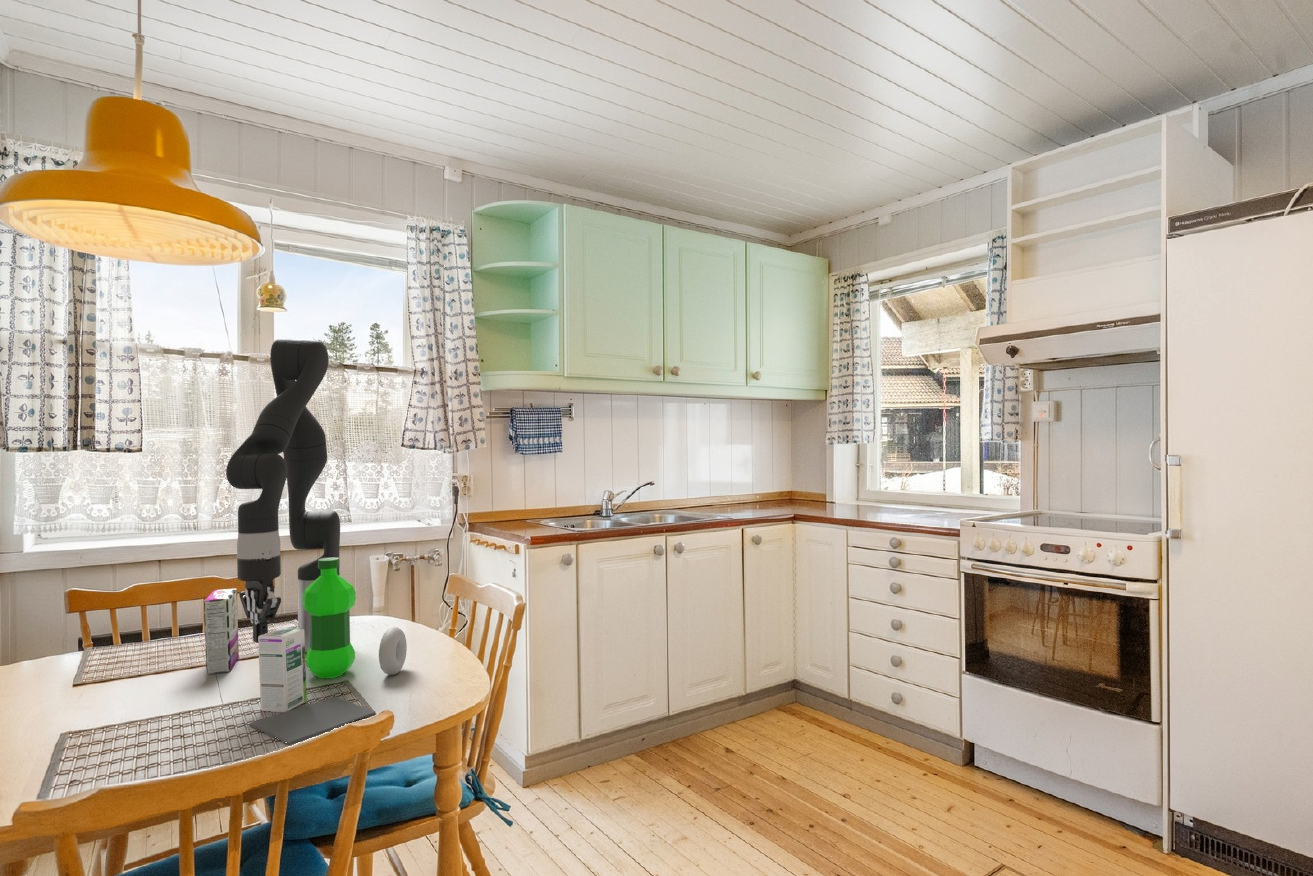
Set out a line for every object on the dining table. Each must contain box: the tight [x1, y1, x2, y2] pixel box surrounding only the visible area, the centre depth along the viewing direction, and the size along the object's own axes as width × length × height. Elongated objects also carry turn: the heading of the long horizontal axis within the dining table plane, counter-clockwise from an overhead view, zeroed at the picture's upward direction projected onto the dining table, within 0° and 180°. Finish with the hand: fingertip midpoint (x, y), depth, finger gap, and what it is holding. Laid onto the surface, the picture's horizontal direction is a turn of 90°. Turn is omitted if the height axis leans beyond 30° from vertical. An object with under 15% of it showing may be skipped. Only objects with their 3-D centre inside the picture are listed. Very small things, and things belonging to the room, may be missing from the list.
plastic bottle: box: [303, 557, 357, 679], centre depth 156 cm, size 10×10×25 cm
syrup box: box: [258, 626, 308, 713], centre depth 138 cm, size 6×6×14 cm
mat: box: [248, 695, 376, 746], centre depth 131 cm, size 14×16×1 cm
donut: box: [378, 626, 408, 676], centre depth 156 cm, size 10×4×10 cm, turn 0°
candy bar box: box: [203, 588, 240, 675], centre depth 162 cm, size 11×5×16 cm, turn 22°
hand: (260, 641), depth 143 cm, fingers closed
